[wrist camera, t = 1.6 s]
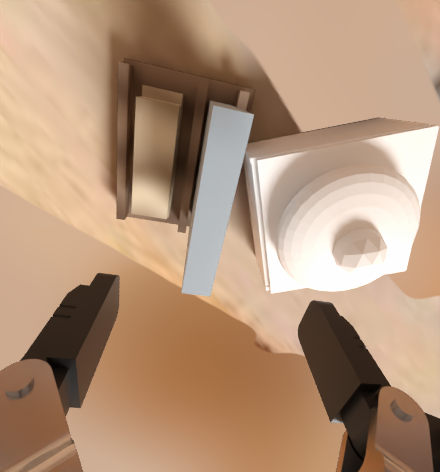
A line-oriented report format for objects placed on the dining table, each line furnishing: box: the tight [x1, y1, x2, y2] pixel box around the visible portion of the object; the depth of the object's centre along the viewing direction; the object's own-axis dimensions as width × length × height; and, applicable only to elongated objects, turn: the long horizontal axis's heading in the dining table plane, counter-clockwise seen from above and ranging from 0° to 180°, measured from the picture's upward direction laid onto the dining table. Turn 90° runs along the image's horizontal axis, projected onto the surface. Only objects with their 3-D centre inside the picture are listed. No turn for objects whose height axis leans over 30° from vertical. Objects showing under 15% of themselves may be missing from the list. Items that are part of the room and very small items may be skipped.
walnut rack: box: [117, 58, 255, 233], centre depth 31 cm, size 18×14×4 cm
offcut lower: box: [142, 85, 185, 218], centre depth 30 cm, size 14×4×2 cm, turn 168°
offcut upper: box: [131, 96, 182, 219], centre depth 28 cm, size 12×4×2 cm, turn 168°
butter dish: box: [243, 118, 439, 294], centre depth 29 cm, size 18×18×16 cm
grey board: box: [182, 100, 254, 296], centre depth 25 cm, size 14×2×16 cm, turn 168°
